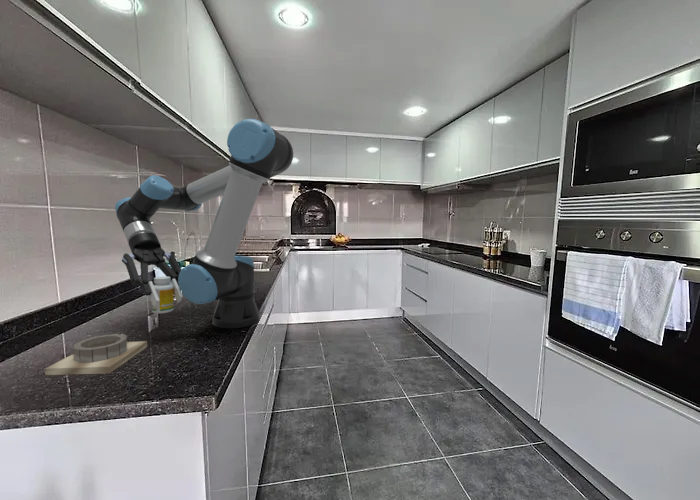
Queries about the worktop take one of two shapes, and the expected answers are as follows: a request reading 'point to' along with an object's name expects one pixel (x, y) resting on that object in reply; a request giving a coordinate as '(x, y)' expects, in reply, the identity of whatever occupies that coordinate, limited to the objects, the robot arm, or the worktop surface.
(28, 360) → the worktop surface
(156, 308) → the supplement bottle
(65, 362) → the jig plate
